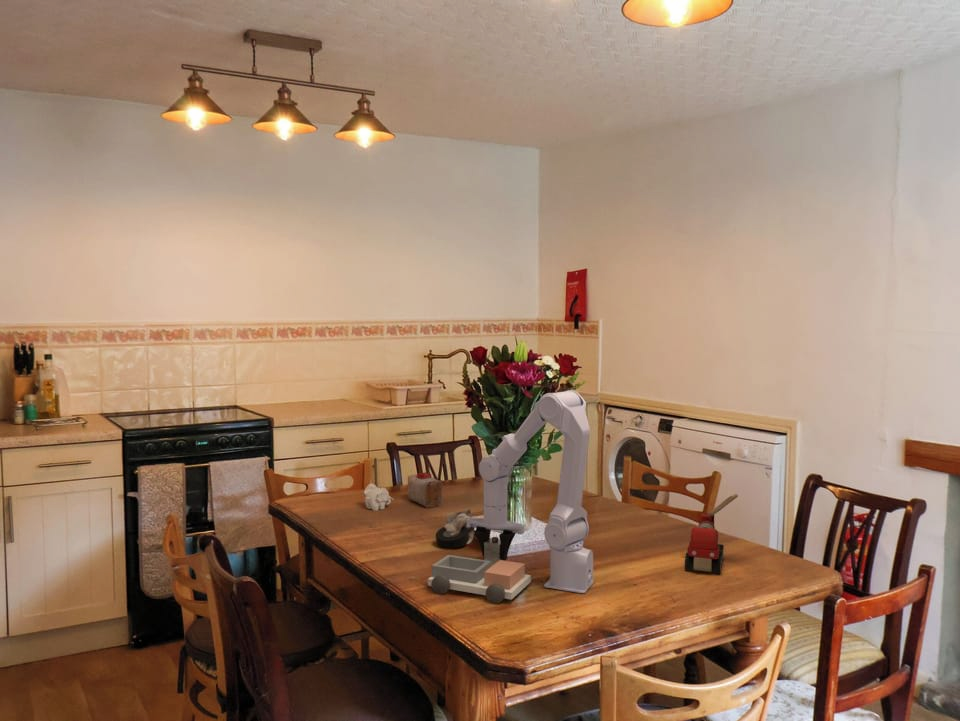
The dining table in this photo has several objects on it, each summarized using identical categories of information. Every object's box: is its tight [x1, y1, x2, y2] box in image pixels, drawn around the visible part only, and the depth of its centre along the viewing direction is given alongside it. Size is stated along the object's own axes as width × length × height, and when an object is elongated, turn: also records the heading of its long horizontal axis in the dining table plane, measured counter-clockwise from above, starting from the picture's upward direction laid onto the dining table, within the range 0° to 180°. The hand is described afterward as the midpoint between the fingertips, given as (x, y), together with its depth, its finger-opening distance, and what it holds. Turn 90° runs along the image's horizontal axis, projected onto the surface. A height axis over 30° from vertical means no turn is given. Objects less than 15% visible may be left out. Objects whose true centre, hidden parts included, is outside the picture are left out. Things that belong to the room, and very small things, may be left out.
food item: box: [407, 471, 443, 509], centre depth 257 cm, size 14×8×10 cm, turn 32°
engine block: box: [483, 536, 507, 567], centre depth 198 cm, size 4×4×7 cm
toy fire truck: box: [684, 493, 739, 575], centre depth 199 cm, size 11×16×18 cm
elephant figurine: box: [364, 483, 395, 512], centre depth 250 cm, size 8×10×7 cm
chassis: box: [427, 554, 532, 605], centre depth 182 cm, size 20×14×6 cm
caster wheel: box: [435, 508, 476, 550], centre depth 215 cm, size 7×12×10 cm
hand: (494, 559), depth 198 cm, fingers open, 4 cm apart
